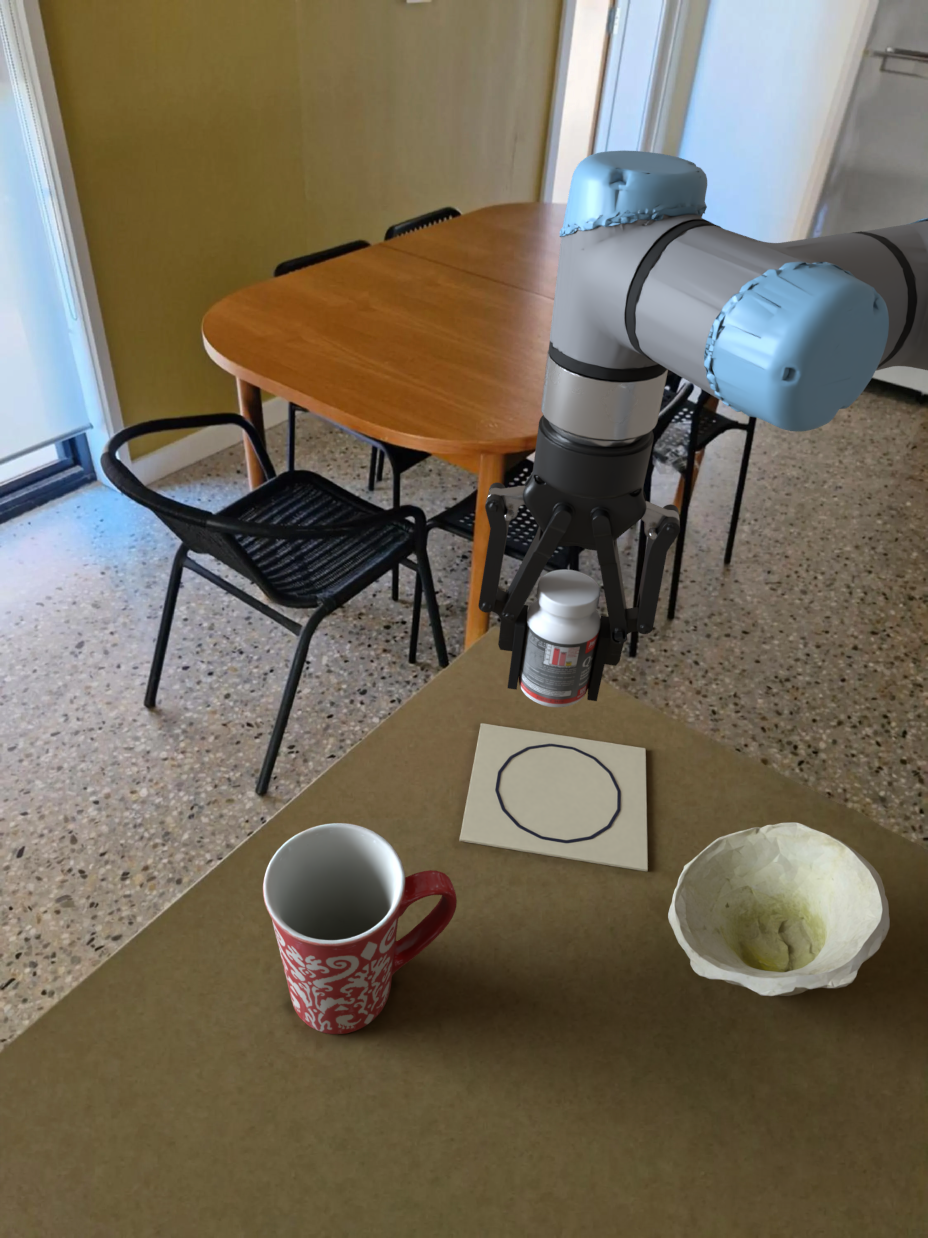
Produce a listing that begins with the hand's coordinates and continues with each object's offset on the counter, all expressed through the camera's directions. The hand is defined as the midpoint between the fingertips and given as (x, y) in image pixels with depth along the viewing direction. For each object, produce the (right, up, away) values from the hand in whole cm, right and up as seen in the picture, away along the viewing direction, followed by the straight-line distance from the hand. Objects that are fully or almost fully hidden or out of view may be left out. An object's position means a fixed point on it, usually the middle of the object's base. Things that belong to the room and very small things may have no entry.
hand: (553, 683), depth 72 cm
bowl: (+15, -21, -2) cm, 26 cm away
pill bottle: (0, 0, 0) cm, 1 cm away
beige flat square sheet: (+1, -11, +9) cm, 14 cm away
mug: (-15, -22, -7) cm, 27 cm away
